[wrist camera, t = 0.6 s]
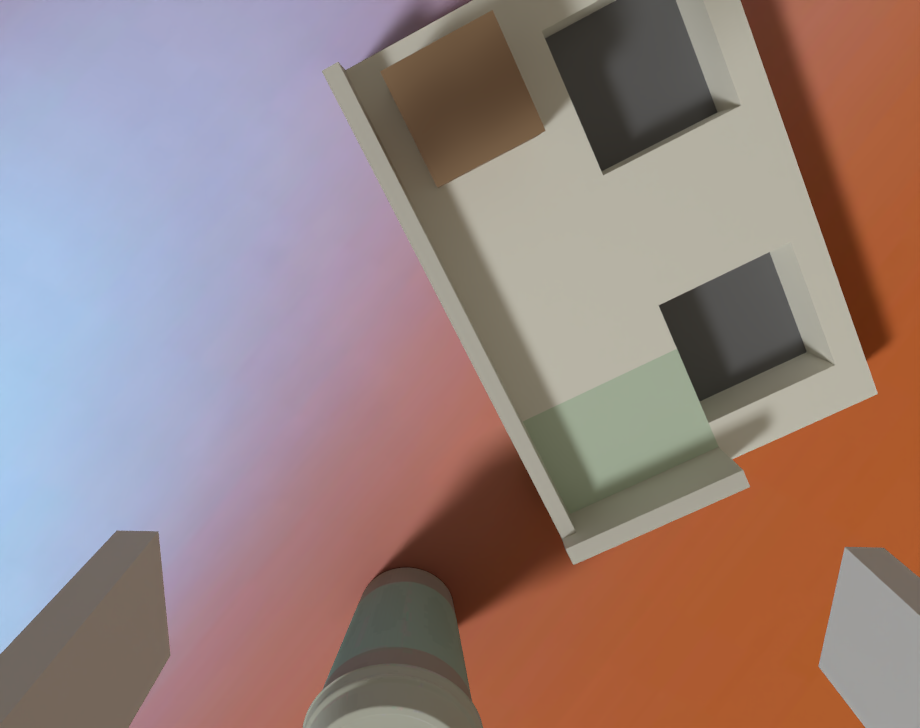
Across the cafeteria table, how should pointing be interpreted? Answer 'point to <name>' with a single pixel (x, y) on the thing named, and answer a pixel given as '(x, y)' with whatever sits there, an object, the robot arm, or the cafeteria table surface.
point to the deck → (626, 257)
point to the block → (464, 99)
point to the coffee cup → (398, 661)
